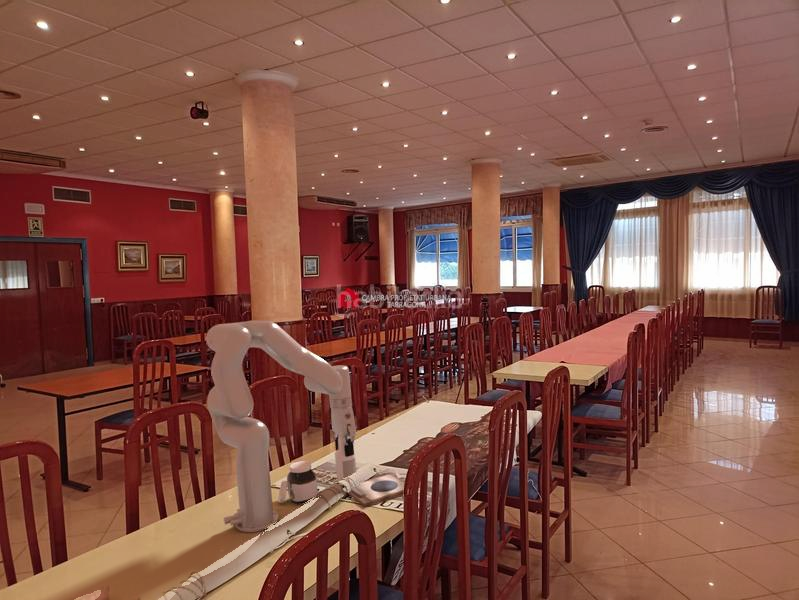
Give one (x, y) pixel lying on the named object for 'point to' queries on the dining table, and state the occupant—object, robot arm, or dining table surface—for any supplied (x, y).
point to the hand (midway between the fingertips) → (344, 452)
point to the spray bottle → (344, 461)
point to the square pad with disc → (377, 490)
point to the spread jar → (299, 483)
